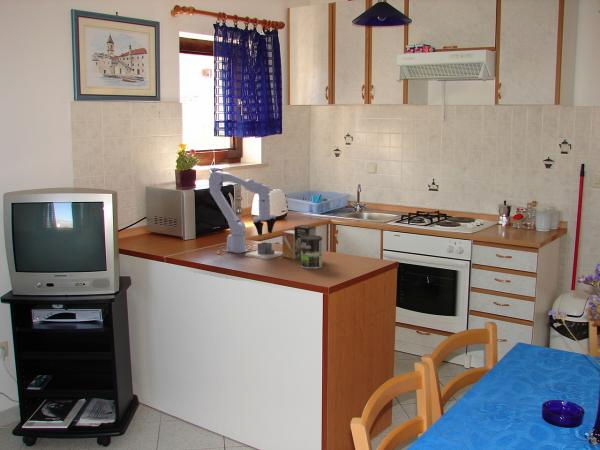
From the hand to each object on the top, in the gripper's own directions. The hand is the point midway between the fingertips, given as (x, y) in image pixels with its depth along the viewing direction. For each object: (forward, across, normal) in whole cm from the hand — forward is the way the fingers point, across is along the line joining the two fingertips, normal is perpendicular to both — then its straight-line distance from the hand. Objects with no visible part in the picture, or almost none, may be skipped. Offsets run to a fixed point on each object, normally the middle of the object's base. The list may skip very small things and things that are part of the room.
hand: (265, 234), depth 360 cm
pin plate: (+9, -7, -6) cm, 13 cm away
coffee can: (+10, -12, -41) cm, 44 cm away
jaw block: (+8, -7, -8) cm, 13 cm away
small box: (+10, -2, -20) cm, 22 cm away
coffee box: (+9, -1, -28) cm, 29 cm away
